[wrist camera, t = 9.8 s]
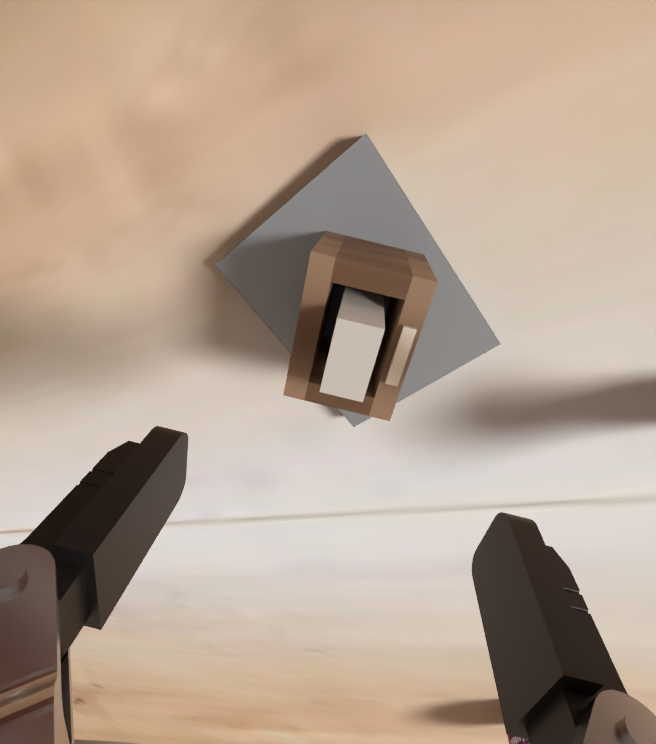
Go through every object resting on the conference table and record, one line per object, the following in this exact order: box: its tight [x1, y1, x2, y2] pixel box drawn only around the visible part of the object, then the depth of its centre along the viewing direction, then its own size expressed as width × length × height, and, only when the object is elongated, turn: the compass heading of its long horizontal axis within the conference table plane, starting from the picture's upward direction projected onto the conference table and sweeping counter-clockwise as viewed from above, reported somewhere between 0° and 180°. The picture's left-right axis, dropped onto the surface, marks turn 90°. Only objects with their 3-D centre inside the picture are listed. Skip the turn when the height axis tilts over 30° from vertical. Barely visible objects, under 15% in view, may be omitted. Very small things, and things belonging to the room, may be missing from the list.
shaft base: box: [216, 134, 500, 427], centre depth 21 cm, size 11×14×10 cm
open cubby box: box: [284, 231, 438, 421], centre depth 22 cm, size 7×6×6 cm
